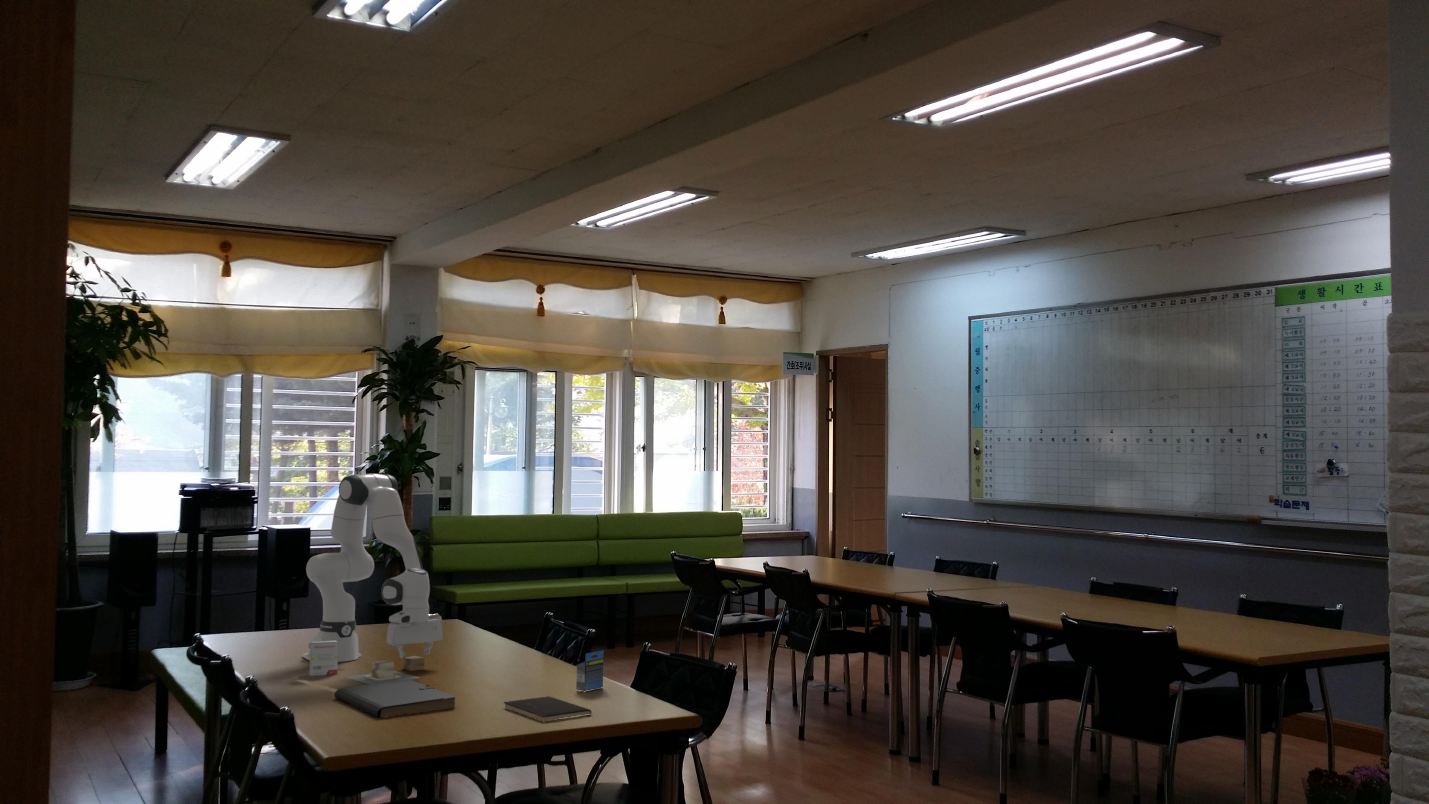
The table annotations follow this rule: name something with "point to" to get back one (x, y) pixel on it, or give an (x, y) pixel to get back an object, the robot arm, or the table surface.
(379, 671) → the birch block
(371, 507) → the robot arm
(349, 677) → the board
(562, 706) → the hardcover book
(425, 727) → the table surface
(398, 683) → the large dark grey book
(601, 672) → the blue grey product box
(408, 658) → the walnut block
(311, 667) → the ink box
